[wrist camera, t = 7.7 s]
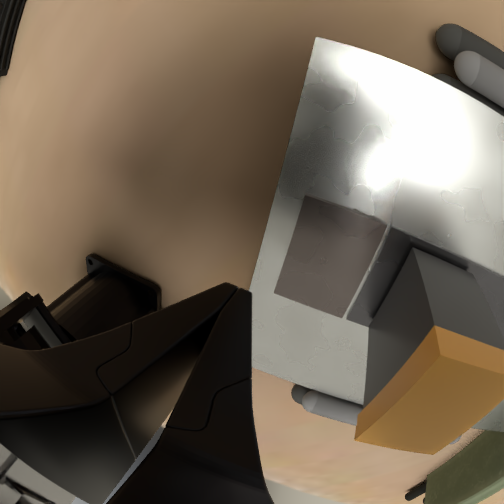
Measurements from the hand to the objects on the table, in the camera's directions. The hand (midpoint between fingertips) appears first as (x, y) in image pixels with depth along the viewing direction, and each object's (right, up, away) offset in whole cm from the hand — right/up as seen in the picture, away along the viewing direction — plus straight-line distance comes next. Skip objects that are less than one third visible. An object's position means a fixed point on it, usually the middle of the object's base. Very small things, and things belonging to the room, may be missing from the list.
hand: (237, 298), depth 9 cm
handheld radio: (+21, -17, +9) cm, 28 cm away
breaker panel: (+13, -1, +3) cm, 13 cm away
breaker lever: (+7, -1, +2) cm, 7 cm away
